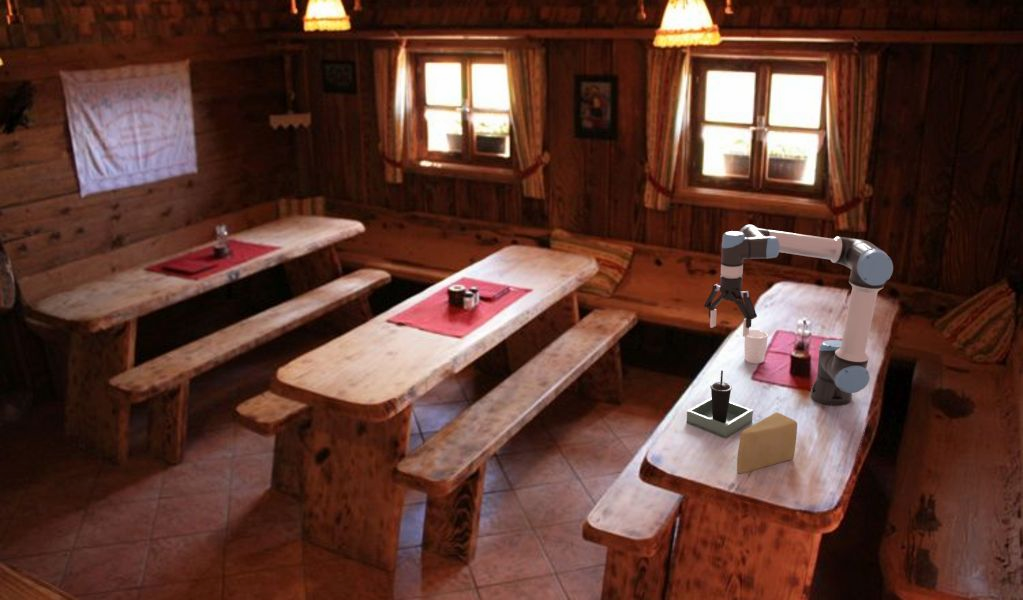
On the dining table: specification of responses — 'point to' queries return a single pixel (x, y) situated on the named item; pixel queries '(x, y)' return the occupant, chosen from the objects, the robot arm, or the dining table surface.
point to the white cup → (755, 346)
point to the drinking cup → (720, 399)
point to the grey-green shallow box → (705, 421)
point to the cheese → (767, 443)
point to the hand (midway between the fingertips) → (729, 331)
